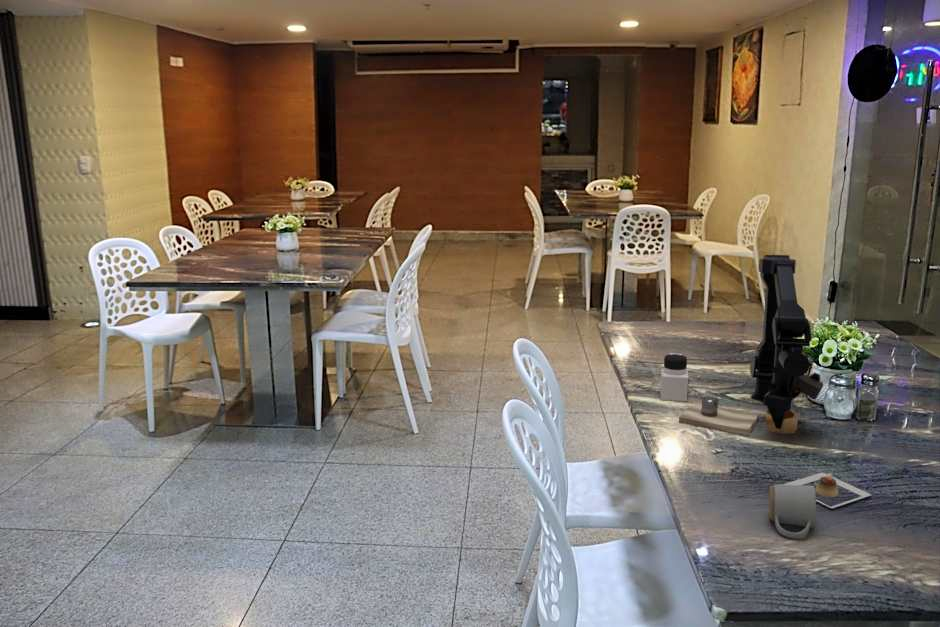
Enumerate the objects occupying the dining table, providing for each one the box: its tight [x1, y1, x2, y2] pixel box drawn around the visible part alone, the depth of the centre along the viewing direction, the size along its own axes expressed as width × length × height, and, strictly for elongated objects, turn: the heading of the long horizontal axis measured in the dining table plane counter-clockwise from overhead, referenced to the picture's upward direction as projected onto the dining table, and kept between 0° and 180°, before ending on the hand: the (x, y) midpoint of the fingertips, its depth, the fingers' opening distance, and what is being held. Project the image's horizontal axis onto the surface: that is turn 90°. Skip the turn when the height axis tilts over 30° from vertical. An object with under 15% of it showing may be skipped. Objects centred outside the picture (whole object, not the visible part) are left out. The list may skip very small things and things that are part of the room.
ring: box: [764, 409, 799, 435], centre depth 197 cm, size 7×7×4 cm
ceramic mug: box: [768, 483, 817, 540], centre depth 150 cm, size 11×8×8 cm
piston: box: [701, 396, 719, 417], centre depth 202 cm, size 4×4×4 cm
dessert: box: [784, 472, 872, 509], centre depth 164 cm, size 12×12×5 cm
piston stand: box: [678, 402, 760, 436], centre depth 202 cm, size 12×17×2 cm
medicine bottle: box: [659, 353, 690, 402], centre depth 218 cm, size 7×7×12 cm
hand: (781, 423), depth 197 cm, fingers closed on ring, 7 cm apart
